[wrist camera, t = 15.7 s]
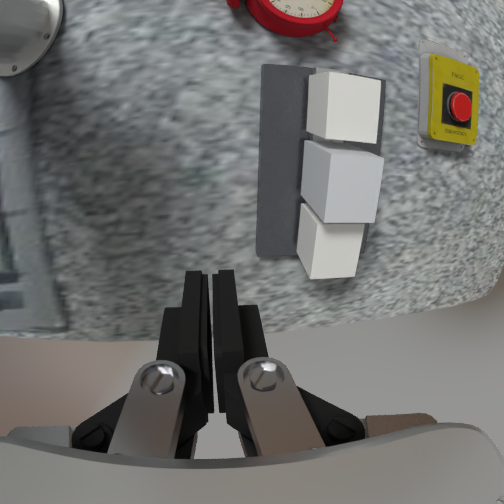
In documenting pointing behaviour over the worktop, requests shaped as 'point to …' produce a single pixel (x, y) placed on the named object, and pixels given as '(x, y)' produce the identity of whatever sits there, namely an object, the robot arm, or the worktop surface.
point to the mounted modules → (339, 128)
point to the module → (341, 181)
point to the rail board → (289, 155)
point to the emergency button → (446, 98)
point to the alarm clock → (293, 15)
